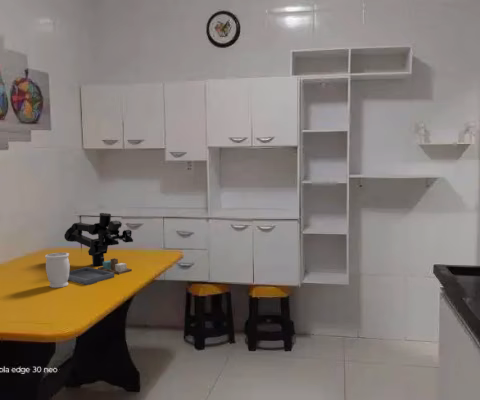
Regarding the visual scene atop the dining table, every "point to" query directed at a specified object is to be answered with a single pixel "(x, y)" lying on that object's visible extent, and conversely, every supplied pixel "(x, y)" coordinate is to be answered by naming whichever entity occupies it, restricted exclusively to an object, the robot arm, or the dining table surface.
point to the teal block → (107, 264)
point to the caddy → (113, 262)
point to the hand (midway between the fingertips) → (125, 242)
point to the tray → (89, 275)
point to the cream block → (120, 267)
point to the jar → (57, 269)
